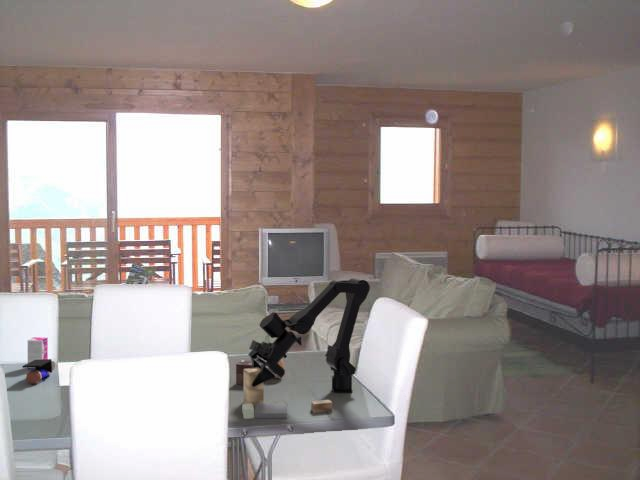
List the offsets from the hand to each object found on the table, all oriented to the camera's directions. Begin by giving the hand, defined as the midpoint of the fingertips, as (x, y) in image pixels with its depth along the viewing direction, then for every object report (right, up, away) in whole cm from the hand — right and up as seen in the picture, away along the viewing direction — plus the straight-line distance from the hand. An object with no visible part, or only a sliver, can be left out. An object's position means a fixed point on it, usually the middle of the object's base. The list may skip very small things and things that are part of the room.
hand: (249, 383), depth 227 cm
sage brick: (+1, -8, -11) cm, 13 cm away
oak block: (+1, -7, +1) cm, 7 cm away
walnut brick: (+23, -7, -6) cm, 25 cm away
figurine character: (-79, -4, +28) cm, 84 cm away
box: (-4, -5, +25) cm, 26 cm away
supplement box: (-86, -3, +44) cm, 97 cm away
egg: (+6, -4, +31) cm, 32 cm away
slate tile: (+8, -7, -9) cm, 14 cm away
